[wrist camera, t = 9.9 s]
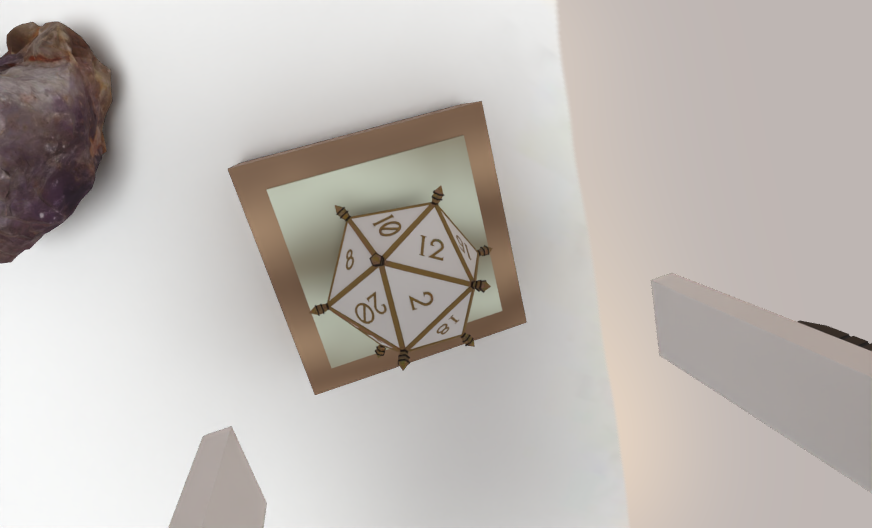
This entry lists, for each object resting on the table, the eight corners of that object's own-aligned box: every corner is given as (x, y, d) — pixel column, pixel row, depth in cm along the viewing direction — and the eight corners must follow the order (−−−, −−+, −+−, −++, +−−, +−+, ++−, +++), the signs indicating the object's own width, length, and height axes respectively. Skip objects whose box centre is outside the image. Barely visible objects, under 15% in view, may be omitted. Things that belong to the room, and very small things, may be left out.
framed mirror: (504, 301, 35) (528, 324, 31) (315, 364, 33) (315, 397, 29) (461, 104, 30) (483, 100, 26) (239, 163, 28) (226, 169, 24)
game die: (390, 272, 32) (379, 422, 25) (297, 190, 26) (254, 357, 20) (514, 222, 28) (538, 383, 22) (438, 114, 22) (439, 290, 16)
